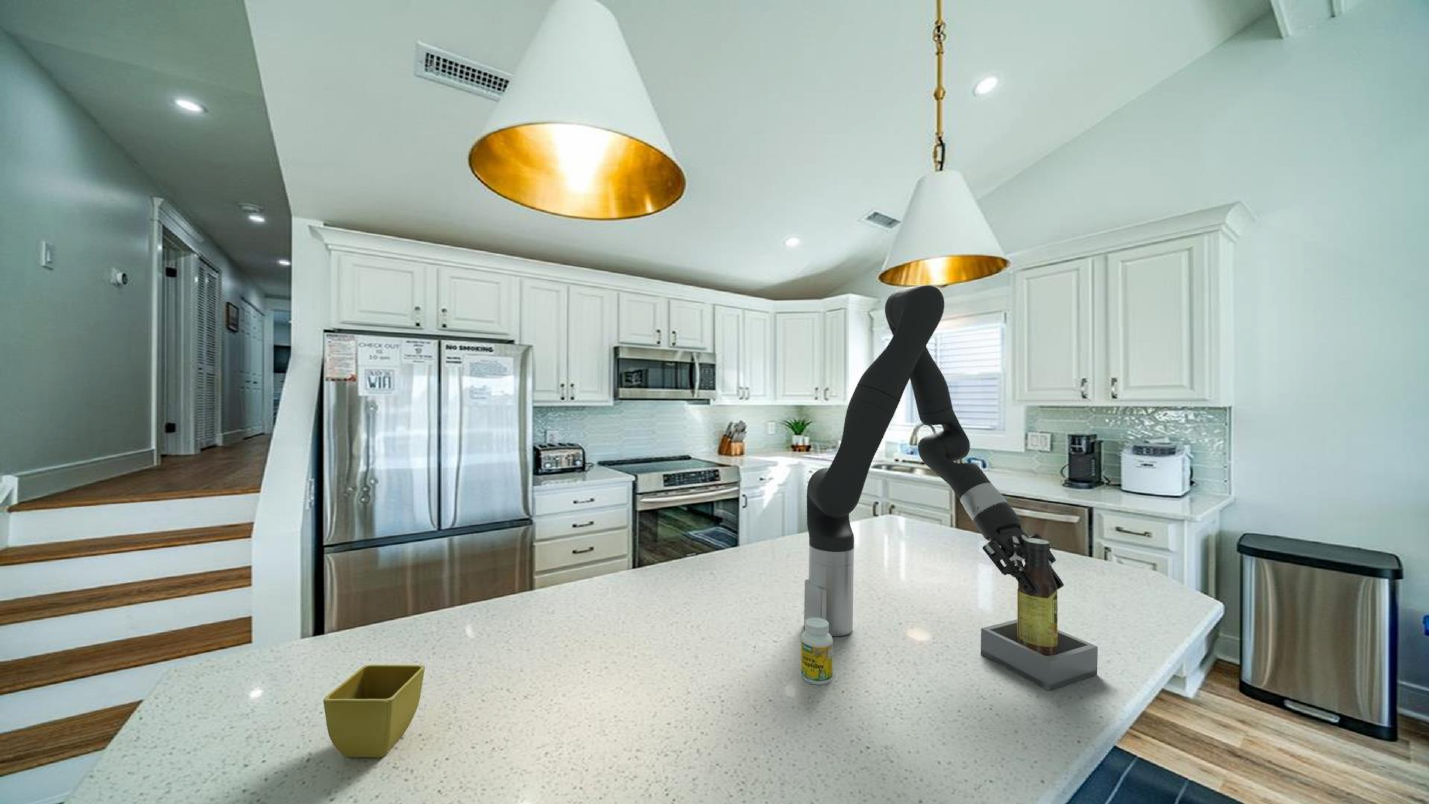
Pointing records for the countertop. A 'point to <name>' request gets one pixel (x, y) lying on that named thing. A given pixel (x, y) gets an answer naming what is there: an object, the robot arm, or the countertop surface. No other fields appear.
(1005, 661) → the gray tray
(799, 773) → the countertop surface
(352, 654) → the countertop surface
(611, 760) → the countertop surface
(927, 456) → the robot arm
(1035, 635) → the sauce bottle
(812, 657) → the supplement bottle
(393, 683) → the flower pot
